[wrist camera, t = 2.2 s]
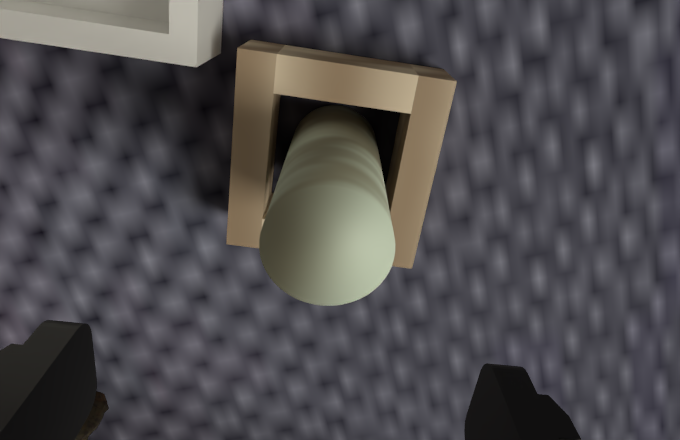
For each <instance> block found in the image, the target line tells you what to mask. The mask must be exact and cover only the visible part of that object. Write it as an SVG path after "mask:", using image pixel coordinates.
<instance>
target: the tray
mask: <svg viewBox="0 0 680 440" xmlns="http://www.w3.org/2000/svg"><path fill="white" fill-rule="evenodd" d="M222 21H223V0H0V38H4V39H11V40H18V41H24V42H31V43H38V44H44V45H51V46H58V47H64V48H71V49H78V50H84V51H91V52H98V53H105V54H111V55H118V56H125V57H131V58H138V59H145V60H151V61H158V62H165V63H171V64H178V65H185V66H191V67H198V66H200V65H201V64H203V63H205V62H207V61H208V60H210V59H212V58H214V57H215V56H217V55H219V54H221V45H222Z"/></svg>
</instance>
